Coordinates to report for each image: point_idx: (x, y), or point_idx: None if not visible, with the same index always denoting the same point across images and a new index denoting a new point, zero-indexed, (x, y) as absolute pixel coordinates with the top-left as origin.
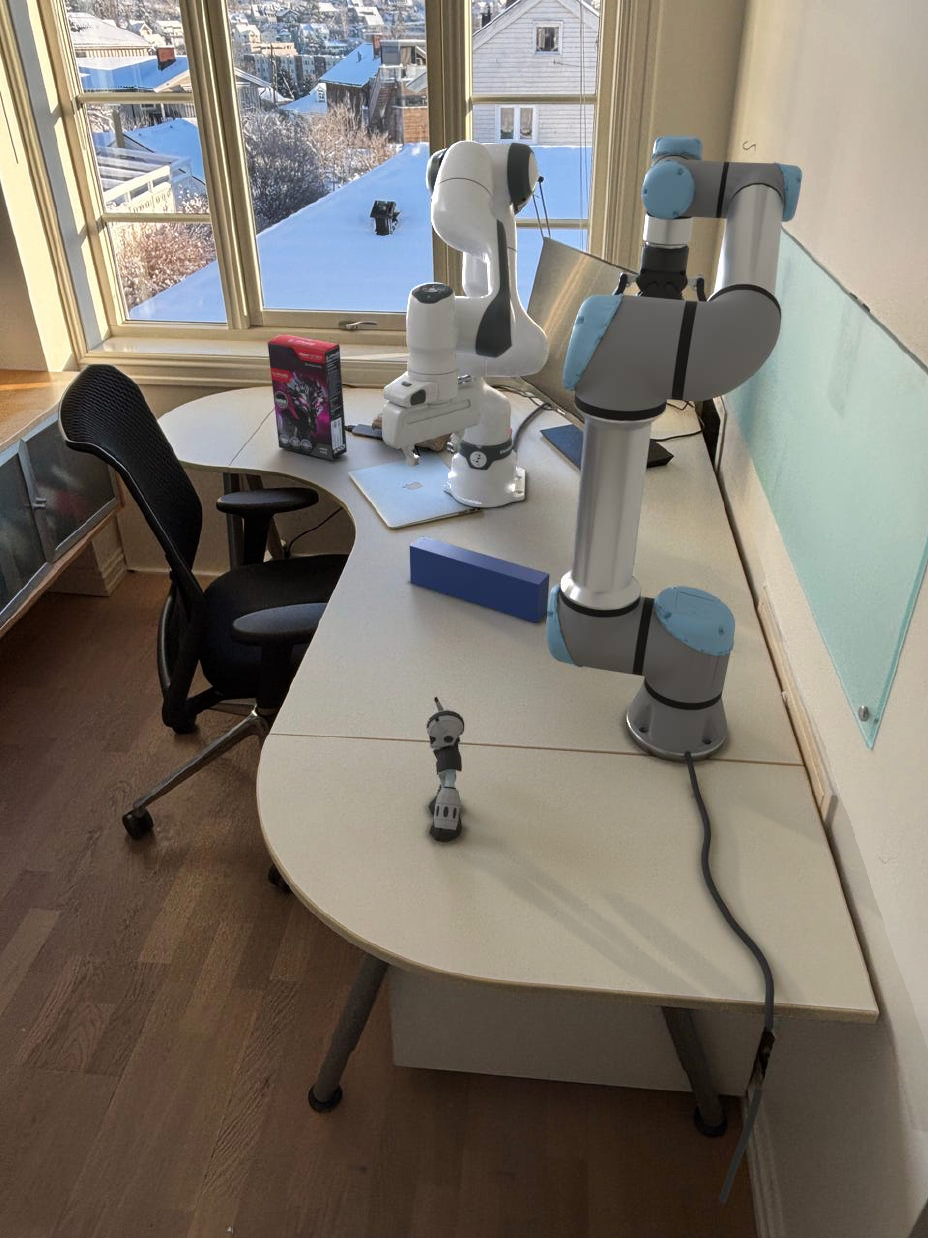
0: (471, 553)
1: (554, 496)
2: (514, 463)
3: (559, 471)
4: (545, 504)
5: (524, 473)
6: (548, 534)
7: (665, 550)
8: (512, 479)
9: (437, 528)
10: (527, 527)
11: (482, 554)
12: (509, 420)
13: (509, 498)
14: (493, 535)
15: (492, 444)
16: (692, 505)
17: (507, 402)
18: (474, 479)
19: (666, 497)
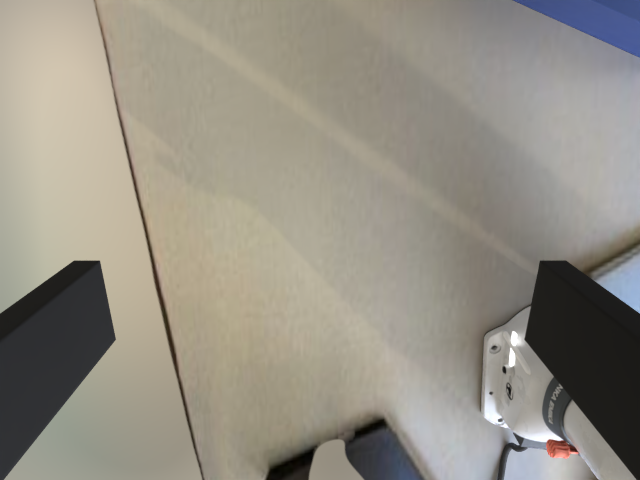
0: (635, 6)
1: (435, 353)
2: (528, 378)
3: (427, 427)
4: (450, 327)
5: (484, 406)
6: (446, 236)
7: (259, 218)
8: (521, 349)
9: (629, 223)
10: (479, 252)
11: (613, 5)
12: (591, 438)
13: (511, 326)
14: (536, 217)
15: None
16: (224, 361)
17: (621, 474)
18: None
19: (264, 378)
